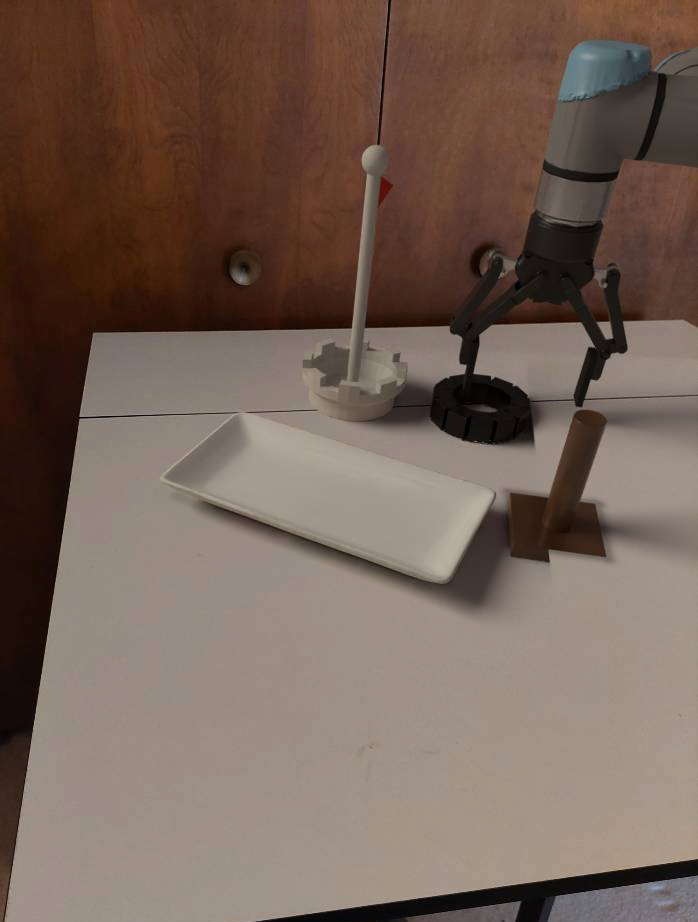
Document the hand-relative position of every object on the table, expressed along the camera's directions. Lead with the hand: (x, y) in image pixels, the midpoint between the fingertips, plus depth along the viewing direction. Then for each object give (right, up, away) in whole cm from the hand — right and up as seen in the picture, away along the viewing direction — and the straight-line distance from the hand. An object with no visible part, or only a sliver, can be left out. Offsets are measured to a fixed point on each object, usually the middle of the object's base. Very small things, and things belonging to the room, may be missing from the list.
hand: (521, 395), depth 97 cm
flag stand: (-20, 0, +5) cm, 21 cm away
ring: (-5, -2, +3) cm, 6 cm away
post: (-1, -17, -15) cm, 23 cm away
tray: (-24, -15, -13) cm, 31 cm away
